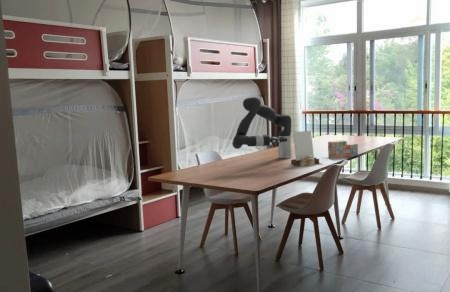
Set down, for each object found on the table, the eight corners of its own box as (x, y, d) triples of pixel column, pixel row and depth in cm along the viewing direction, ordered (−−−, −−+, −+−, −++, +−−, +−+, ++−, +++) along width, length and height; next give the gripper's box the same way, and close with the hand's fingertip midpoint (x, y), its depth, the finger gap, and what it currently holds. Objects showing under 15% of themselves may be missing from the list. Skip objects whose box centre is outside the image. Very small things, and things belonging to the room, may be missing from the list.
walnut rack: (295, 168, 292) (294, 162, 291) (289, 166, 304) (289, 159, 303) (323, 166, 295) (323, 160, 294) (317, 163, 307) (317, 157, 306)
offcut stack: (302, 166, 293) (301, 157, 292) (299, 164, 297) (299, 156, 297) (314, 165, 294) (314, 156, 293) (312, 163, 299) (312, 155, 298)
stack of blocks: (354, 155, 336) (353, 139, 334) (358, 156, 330) (357, 140, 328) (328, 157, 331) (327, 141, 330) (331, 158, 325) (331, 142, 324)
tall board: (297, 163, 299) (294, 131, 301) (296, 163, 302) (293, 132, 304) (314, 162, 301) (311, 130, 302) (312, 162, 304) (309, 131, 305)
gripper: (264, 135, 287) (288, 134, 290) (259, 134, 301) (282, 132, 304) (264, 147, 288) (288, 145, 290) (259, 144, 302) (282, 143, 304)
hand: (285, 139), depth 297 cm, fingers open, 8 cm apart
